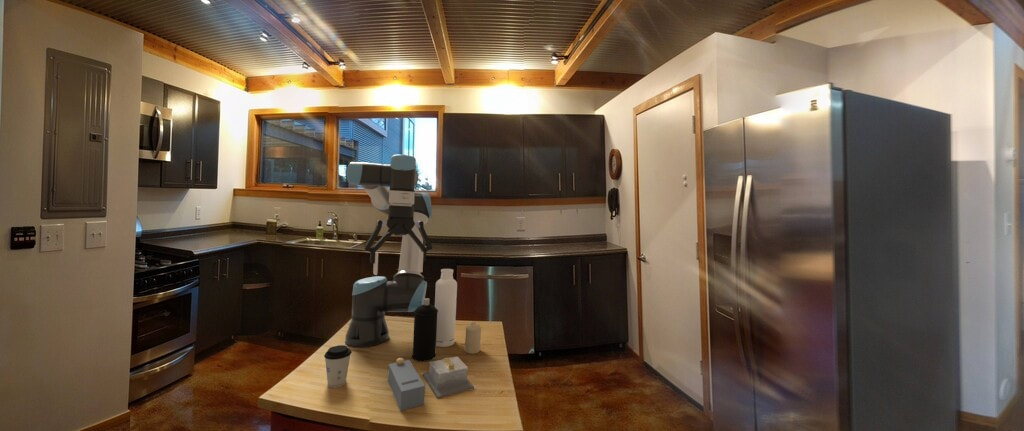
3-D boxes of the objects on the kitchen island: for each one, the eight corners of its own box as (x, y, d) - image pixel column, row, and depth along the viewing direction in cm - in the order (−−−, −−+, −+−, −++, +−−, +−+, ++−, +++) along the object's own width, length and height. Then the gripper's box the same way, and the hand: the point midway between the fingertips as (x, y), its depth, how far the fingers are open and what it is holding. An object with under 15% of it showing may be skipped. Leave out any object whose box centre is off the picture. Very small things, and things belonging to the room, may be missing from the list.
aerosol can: (429, 363, 108) (432, 303, 107) (407, 359, 109) (409, 300, 109) (440, 352, 116) (442, 297, 115) (418, 349, 117) (421, 294, 117)
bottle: (431, 339, 126) (434, 268, 126) (451, 337, 130) (454, 267, 129) (435, 348, 119) (438, 272, 119) (456, 345, 123) (460, 271, 122)
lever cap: (428, 376, 98) (429, 358, 98) (456, 370, 103) (457, 353, 103) (437, 390, 91) (438, 370, 91) (466, 382, 96) (467, 364, 96)
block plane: (387, 380, 96) (388, 360, 96) (408, 376, 99) (409, 356, 99) (400, 410, 82) (401, 386, 82) (424, 404, 85) (425, 381, 85)
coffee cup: (353, 376, 97) (355, 343, 97) (345, 389, 90) (347, 353, 90) (328, 377, 96) (329, 343, 96) (318, 390, 89) (320, 354, 89)
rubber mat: (422, 374, 100) (422, 373, 100) (456, 367, 106) (456, 365, 106) (437, 398, 88) (437, 396, 88) (474, 388, 94) (474, 386, 94)
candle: (465, 347, 121) (466, 320, 121) (480, 347, 122) (481, 321, 122) (464, 353, 116) (465, 326, 116) (479, 354, 116) (481, 326, 116)
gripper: (359, 203, 92) (356, 277, 92) (443, 207, 105) (440, 272, 105) (356, 202, 98) (353, 272, 98) (436, 206, 111) (433, 268, 112)
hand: (398, 272), depth 102 cm, fingers open, 13 cm apart
